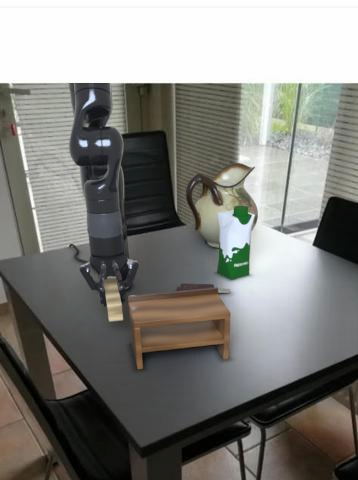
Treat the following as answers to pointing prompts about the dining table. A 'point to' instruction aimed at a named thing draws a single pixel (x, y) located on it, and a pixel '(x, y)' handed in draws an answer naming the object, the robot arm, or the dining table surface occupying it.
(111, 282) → the beech stick
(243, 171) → the pitcher
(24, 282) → the dining table surface
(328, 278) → the dining table surface
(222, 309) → the shelf
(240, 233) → the milk carton
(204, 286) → the ice cream bar
